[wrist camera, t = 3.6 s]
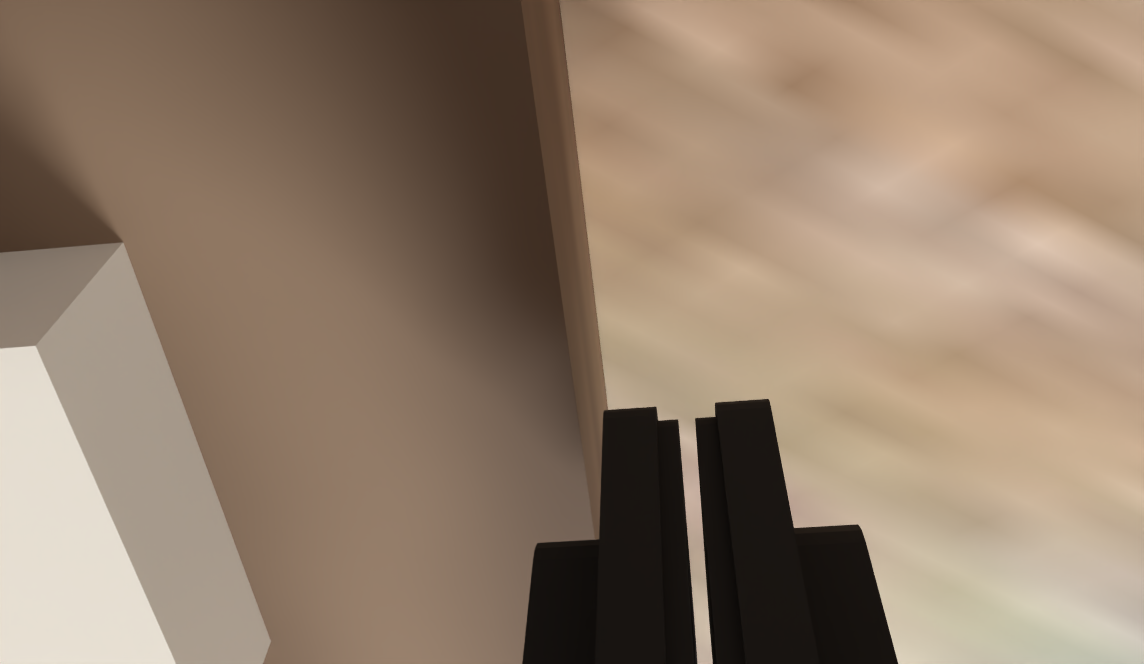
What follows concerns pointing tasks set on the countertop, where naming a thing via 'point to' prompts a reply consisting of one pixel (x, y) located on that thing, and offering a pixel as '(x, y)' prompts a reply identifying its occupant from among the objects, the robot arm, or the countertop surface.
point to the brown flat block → (340, 287)
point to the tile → (105, 481)
